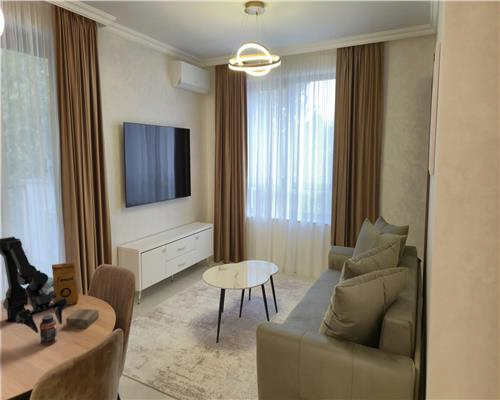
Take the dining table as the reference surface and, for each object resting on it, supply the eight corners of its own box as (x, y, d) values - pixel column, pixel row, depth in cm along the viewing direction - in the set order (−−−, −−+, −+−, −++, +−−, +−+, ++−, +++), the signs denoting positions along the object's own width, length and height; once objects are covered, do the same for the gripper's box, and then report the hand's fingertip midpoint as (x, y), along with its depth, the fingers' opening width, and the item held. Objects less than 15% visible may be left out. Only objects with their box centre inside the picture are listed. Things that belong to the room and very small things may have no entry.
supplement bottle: (60, 340, 146) (59, 315, 145) (48, 347, 141) (46, 321, 139) (49, 337, 148) (48, 312, 147) (37, 344, 143) (35, 318, 141)
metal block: (66, 326, 158) (66, 318, 157) (78, 316, 168) (78, 309, 167) (87, 328, 157) (87, 319, 157) (98, 317, 167) (98, 310, 167)
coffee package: (79, 305, 181) (77, 264, 178) (51, 308, 176) (49, 267, 173) (80, 297, 190) (78, 259, 187) (54, 301, 185) (52, 261, 182)
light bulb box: (56, 295, 193) (55, 276, 192) (47, 300, 186) (46, 280, 185) (38, 294, 194) (37, 275, 193) (29, 298, 187) (28, 279, 186)
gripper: (16, 293, 137) (29, 327, 132) (64, 280, 152) (78, 311, 146) (9, 306, 142) (22, 340, 137) (57, 293, 157) (70, 323, 152)
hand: (49, 328), depth 143 cm, fingers open, 9 cm apart
